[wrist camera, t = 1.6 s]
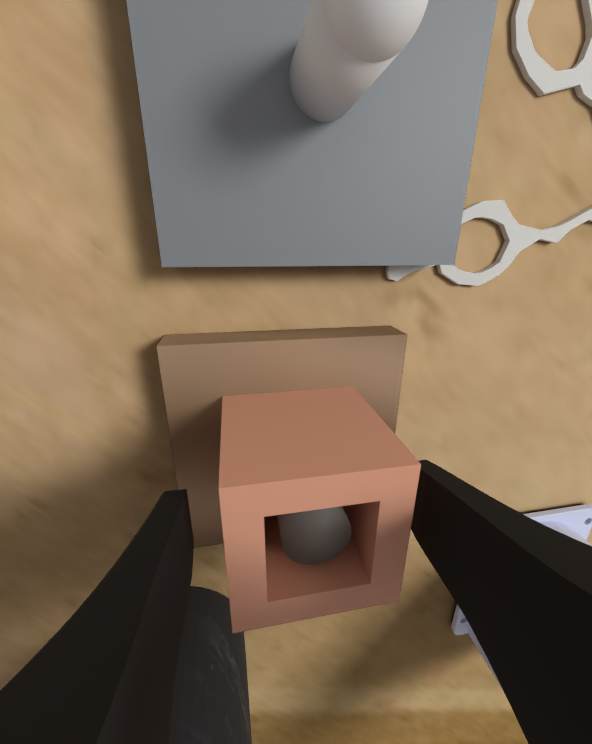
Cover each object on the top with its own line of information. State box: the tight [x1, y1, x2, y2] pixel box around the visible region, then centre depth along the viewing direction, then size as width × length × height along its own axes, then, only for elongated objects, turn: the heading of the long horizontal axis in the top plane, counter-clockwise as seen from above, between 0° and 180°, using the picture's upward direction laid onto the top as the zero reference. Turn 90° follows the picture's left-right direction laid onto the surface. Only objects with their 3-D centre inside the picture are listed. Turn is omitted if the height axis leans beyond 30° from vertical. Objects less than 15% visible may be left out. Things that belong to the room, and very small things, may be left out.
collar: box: [219, 387, 421, 633], centre depth 11 cm, size 5×5×5 cm
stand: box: [157, 326, 407, 565], centre depth 12 cm, size 9×9×6 cm
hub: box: [126, 0, 498, 267], centre depth 8 cm, size 10×10×6 cm
